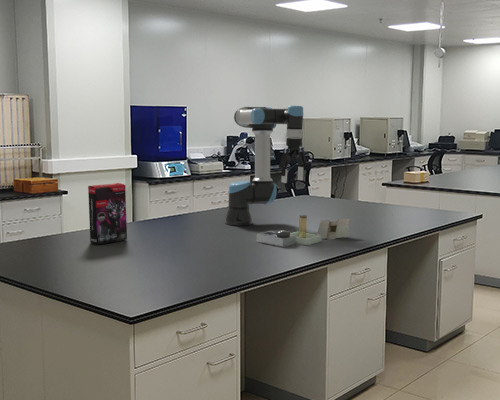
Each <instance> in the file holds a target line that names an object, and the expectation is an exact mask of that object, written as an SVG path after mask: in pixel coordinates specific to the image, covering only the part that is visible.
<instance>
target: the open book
mask: <svg viewBox="0 0 500 400" xmlns="http://www.w3.org/2000/svg"><path fill="white" fill-rule="evenodd" d="M349 227H350V218H340V219H339V218H338V219H337V220H336V221H332V220H330V219H323V220H322V219H321V220H320V222H319V226H318V230H317V233H316V235H320V236H321V240H322V239H326V240H329V241H330V240H336V239H339V238H348V236H349Z"/></svg>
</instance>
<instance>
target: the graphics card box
mask: <svg viewBox="0 0 500 400" xmlns="http://www.w3.org/2000/svg"><path fill="white" fill-rule="evenodd" d="M87 191H88V194H87V195H88V214H89V240H90V242H89V243H90V244H93V245H96V246H97V245H98V246H99V245H100V246H101V245H104V244H105V245H106V244H109V243H115V242H120V241H121V242H122V241H126V240H128V231H127V230H128V226H127V223H128V222H127V195H126V184H124V183H121V182H120V183H119V182H117V183H107V184H104V183H103V184H95V185H93V184H92V185H88V186H87Z"/></svg>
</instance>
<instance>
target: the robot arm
mask: <svg viewBox="0 0 500 400" xmlns="http://www.w3.org/2000/svg"><path fill="white" fill-rule="evenodd" d="M233 119H234V120H233V121H234V122H235V124H236V125H238V126H239V127H242V128H246V129H251V132H252V133H253V134H254V177H253V179H252V180H251V181H249V180H239V181H234V182H231V183H230V184H229V186H228V209H227V213H226V216H225V218H224V223H225V224H226V225H229V226H243V227H244V226H251V225H252V224H253V218H252V216H251V212H250V205H270V204H273V203H274V202H275V200H276V197H277V194H278V193H277V189H278V188H277V184H276V183H275V182H274V180H273V178H272V177H271V134H272V133H273V131H274V129H275V128H276V127H277V125H286V139H285V140H286V141H285V145H286V146H287V148H283V151H282V154H281V158H280V162H279V164H278V168H279V170H281V173H280V174H281V181H280V182H281V183H284V184H287V183H288V166H289V164H290V162H291V160H292V159H293V158H295V159H296V162H297V164H298V167H297V181H304V169H305V168H306V166H307V165H308V164H307V159H306V156H305V148H304V147H303V146H302V145H303V140H302V137H303V125H304V123H303V122H304V107H303V106H302V105H289V106H287V108H273V107H268V106H267V107H266V106H243V107H240V108H238V109H237V110H235V112H234V115H233Z"/></svg>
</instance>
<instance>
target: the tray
mask: <svg viewBox="0 0 500 400" xmlns="http://www.w3.org/2000/svg"><path fill="white" fill-rule="evenodd" d="M290 235H295V236H296V241H295V244H297V245H301V246H302V245H303V246H311V245H314V244H318V243H321V242H322V239H321V236H320V235H317V234H316V233H315V234H314V233H308V232H306V239H305V238H299V231H295V232H290Z"/></svg>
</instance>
